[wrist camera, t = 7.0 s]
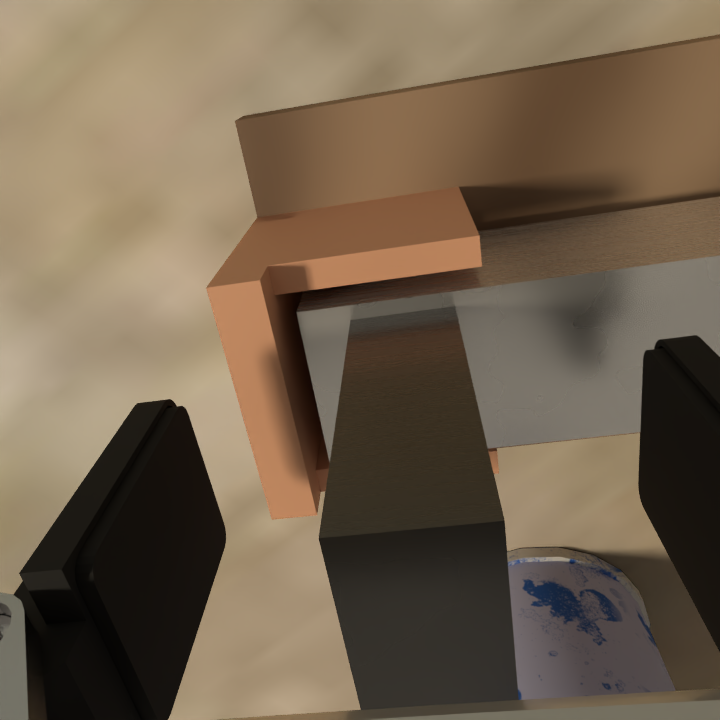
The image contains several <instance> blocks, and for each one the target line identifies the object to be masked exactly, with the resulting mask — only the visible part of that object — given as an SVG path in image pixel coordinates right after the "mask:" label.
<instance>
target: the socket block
mask: <svg viewBox="0 0 720 720" xmlns="http://www.w3.org/2000/svg"><path fill="white" fill-rule="evenodd" d="M475 267H482V260H481V248H480V235H479V233H478V231H477V228H476V226H475V224H474V221H473V219H472V217H471V215H470V212H469V210H468V208H467V205H466V203H465V201H464V198H463V196H462V194H461V191H460V189H459V187H453V188H447V189H440V190H434V191H427V192H421V193H414V194H407V195H401V196H394V197H388V198H381V199H375V200H368V201H361V202H355V203H348V204H342V205H335V206H329V207H322V208H316V209H309V210H302V211H296V212H289V213H283V214H276V215H270V216H263V217H257V219H256V220H255V222H254V223H253V224H252V226H251V227H250V228H249V230H248V231H247V233H246V234H245V235H244V237H243V238H242V239H241V241H240V242H239V244H238V245H237V246H236V248H235V249H234V250H233V252H232V253H231V255H230V256H229V257H228V259H227V260H226V261H225V263H224V264H223V266H222V267H221V268H220V270H219V271H218V272H217V274H216V275H215V277H214V278H213V279H212V281H211V282H210V283H209V285H208V286H207V288H206V289H207V292H208V296H209V299H210V303H211V306H212V310H213V313H214V317H215V320H216V324H217V327H218V331H219V334H220V338H221V342H222V345H223V349H224V352H225V356H226V359H227V363H228V366H229V370H230V373H231V377H232V380H233V384H234V387H235V391H236V394H237V398H238V401H239V405H240V409H241V412H242V416H243V419H244V423H245V426H246V430H247V433H248V437H249V440H250V444H251V447H252V451H253V454H254V458H255V461H256V465H257V468H258V472H259V476H260V479H261V483H262V486H263V490H264V493H265V497H266V500H267V504H268V507H269V511H270V514H271V518H272V519H283V518H293V517H303V516H313V515H317V512H318V505H319V499H320V493H321V492H322V491H326V485H327V478H328V471H329V464H330V462H329V458H328V453H327V449H326V444H325V439H324V435H323V430H322V426H321V421H320V417H319V412H318V408H317V403H316V399H315V394H314V390H313V385H312V381H311V376H310V372H309V367H308V363H307V358H306V354H305V349H304V345H303V340H302V336H301V331H300V327H299V322H298V318H297V313H296V312H297V309H298V306H299V303H300V300H301V297H302V294H303V292H304V291H308V290H316V289H323V288H330V287H337V286H344V285H352V284H359V283H366V282H373V281H381V280H388V279H395V278H402V277H410V276H417V275H424V274H431V273H439V272H446V271H453V270H460V269H467V268H475ZM488 452H489V456H490V460H491V465H492V469H493V473H494V474H497V473H499V469H498V457H497V449H496V448H488Z"/></svg>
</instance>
